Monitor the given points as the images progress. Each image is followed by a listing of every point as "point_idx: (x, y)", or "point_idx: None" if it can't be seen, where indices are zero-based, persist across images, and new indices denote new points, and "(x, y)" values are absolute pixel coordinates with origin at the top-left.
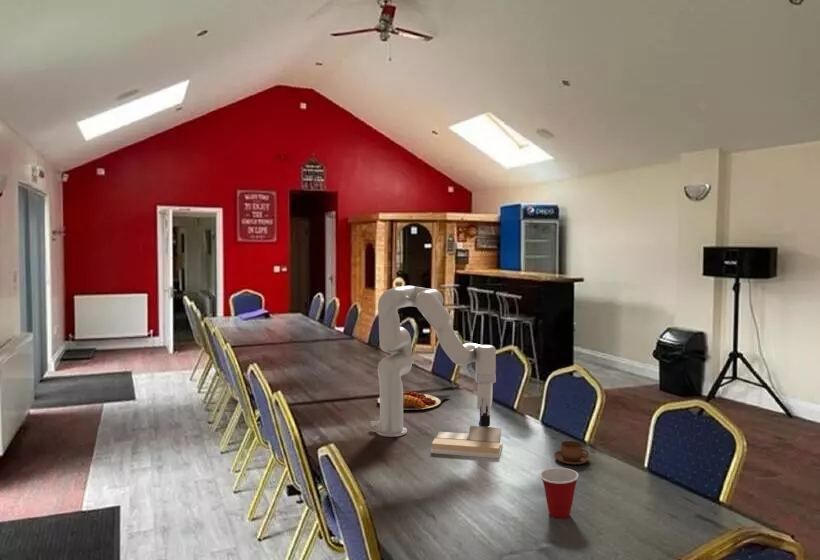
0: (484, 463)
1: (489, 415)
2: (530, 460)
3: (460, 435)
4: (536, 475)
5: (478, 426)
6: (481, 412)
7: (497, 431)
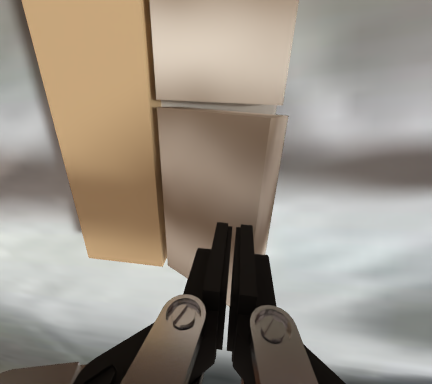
0: (40, 186)
1: (232, 356)
2: (129, 310)
3: (233, 34)
4: (30, 309)
5: (260, 190)
6: (144, 344)
7: None
